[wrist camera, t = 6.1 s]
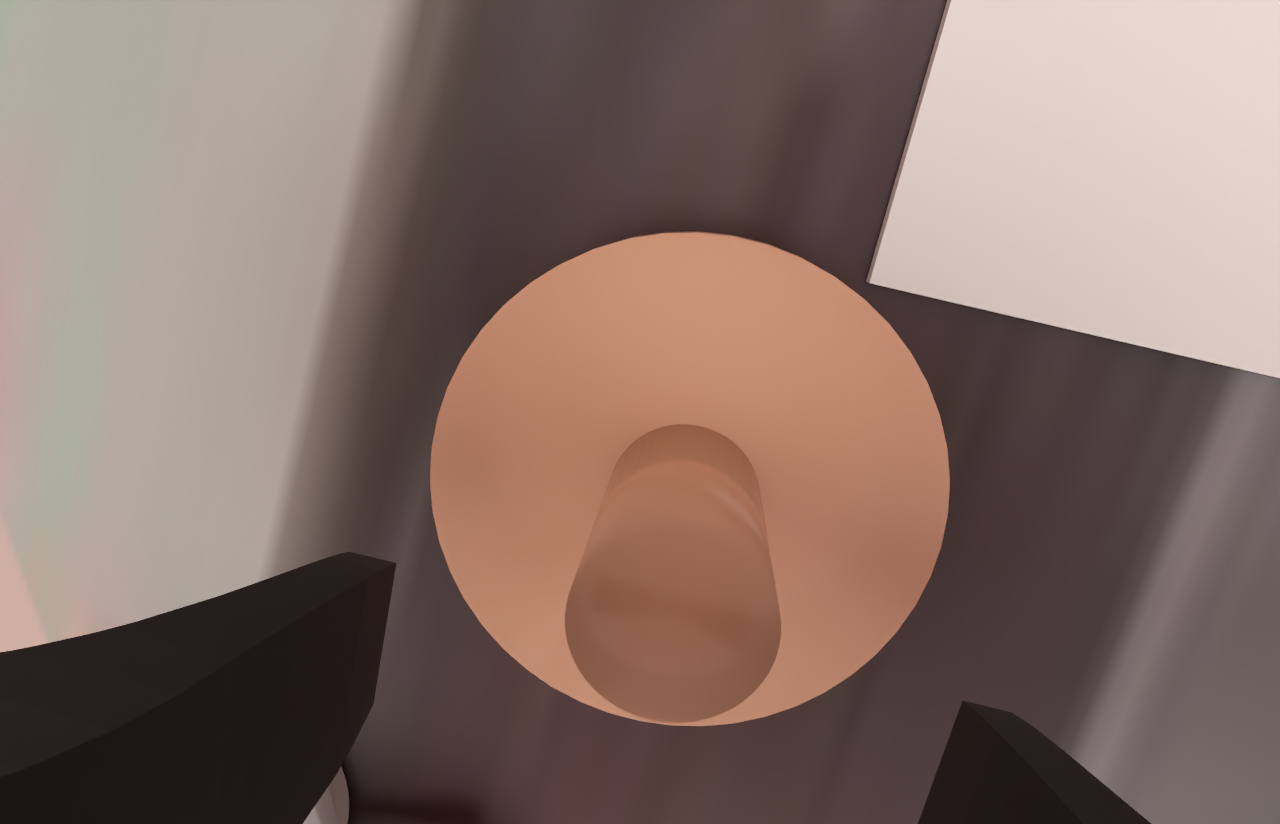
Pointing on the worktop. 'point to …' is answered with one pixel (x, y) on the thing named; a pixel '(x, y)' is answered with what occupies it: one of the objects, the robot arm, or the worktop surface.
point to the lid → (690, 479)
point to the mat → (1100, 172)
